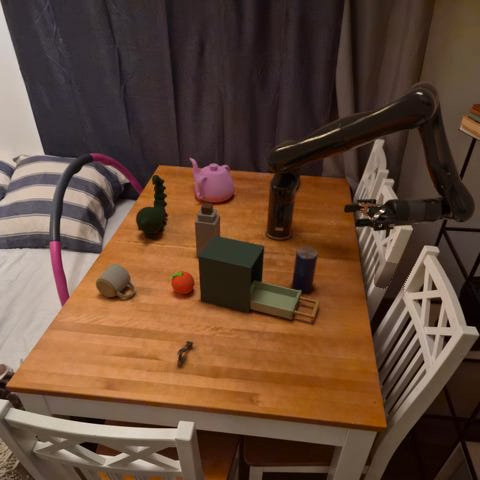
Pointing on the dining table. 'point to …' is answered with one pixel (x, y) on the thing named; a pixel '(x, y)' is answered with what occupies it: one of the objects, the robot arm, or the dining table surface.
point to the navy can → (304, 269)
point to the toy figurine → (153, 211)
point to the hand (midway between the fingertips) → (350, 215)
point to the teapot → (212, 182)
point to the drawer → (278, 300)
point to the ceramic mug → (114, 281)
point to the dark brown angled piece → (188, 345)
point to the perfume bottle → (206, 226)
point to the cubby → (229, 272)
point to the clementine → (182, 282)
